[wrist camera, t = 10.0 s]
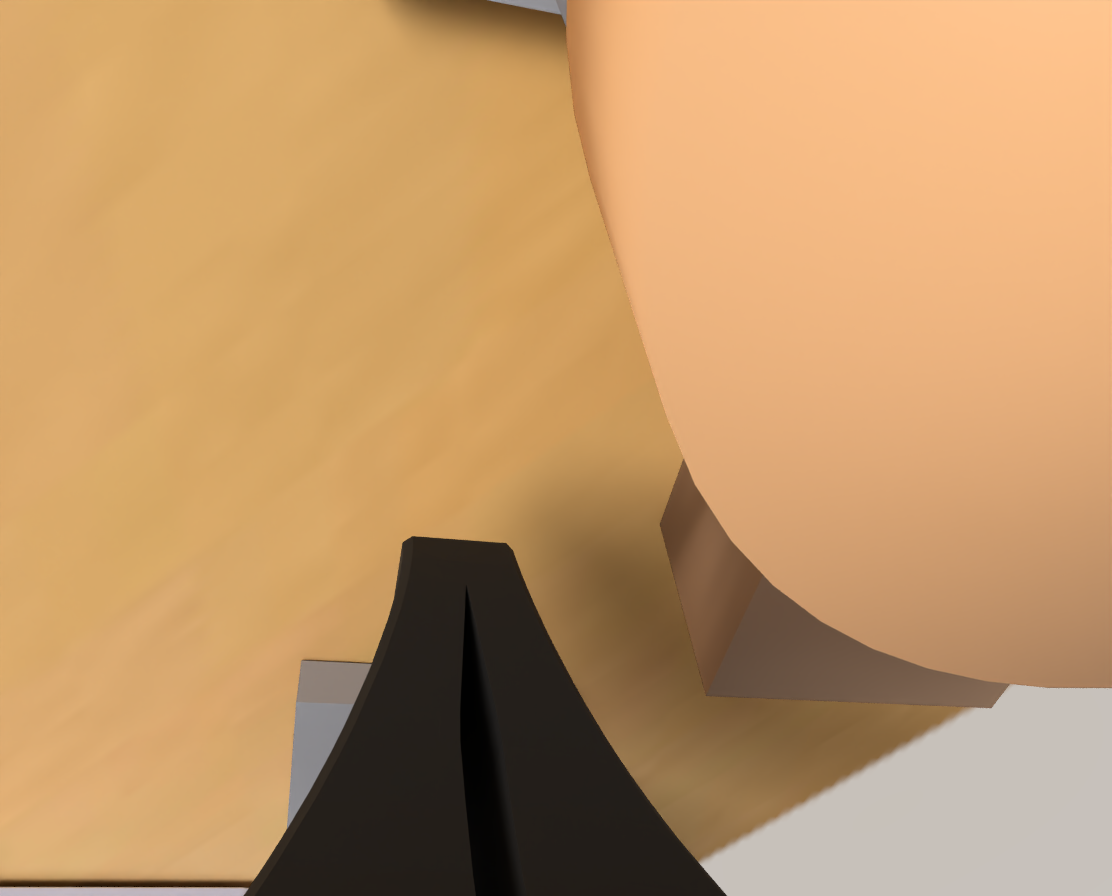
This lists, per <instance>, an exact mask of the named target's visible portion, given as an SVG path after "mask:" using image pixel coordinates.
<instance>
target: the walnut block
mask: <svg viewBox="0 0 1112 896" xmlns="http://www.w3.org/2000/svg"><path fill="white" fill-rule="evenodd" d="M660 527H661V530H662V534H663V538H664V542H665V545H666V549H667V553H668V557H669V560H670V564H671V568H672V571H673V575H674V579H675V583H676V586H677V590H678V594H679V597H680V601H681V605H682V609H683V612H684V616H685V620H686V623H687V627H688V631H689V635H690V638H691V642H692V646H693V650H694V653H695V657H696V661H697V664H698V668H699V672H700V676H701V679H702V683H703V687H704V690H705V694H706V696H720V697H744V698H767V699H791V700H814V701H838V702H861V703H885V704H908V705H932V706H955V707H978V708H992V707H993V705H994V704H995V703H996V701H997V700H998V699H999V697H1000V696H1001V695H1002V693H1003V692H1004V691H1005V690H1006V688H1007V687H1008V686H1009V684H1007V683H997V682H988V681H982V680H978V679H973V678H969V677H964V676H960V675H955V674H950V673H946V672H941V671H937V670H932V669H928V668H925V667H922V666H919V665H916V664H914V663H911V662H908V661H905V660H902V659H900V658H897V657H894V656H891V655H888V654H886V653H883V652H880V651H877V650H874V649H872V648H870V647H868V646H866V645H864V644H862V643H861V642H859V641H857V640H855V639H853V638H851V637H849V636H847V635H845V634H844V633H842V632H840V631H838V630H836V629H834V628H832V627H830V626H828V625H827V624H825V623H823V622H821V621H819V620H818V619H817V618H816V617H814V616H813V615H812V614H810V613H809V612H808V611H806V610H805V609H804V608H802V607H801V606H800V605H798V604H797V603H796V602H794V601H793V600H792V599H790V598H789V597H788V596H786V595H785V594H784V593H782V592H781V591H780V590H778V589H777V588H776V587H774V586H773V585H772V584H771V583H770V582H769V581H768V579H767V578H766V577H765V576H764V575H763V574H762V573H761V572H760V571H759V570H758V569H757V568H756V567H755V566H754V564H753V563H752V562H751V561H750V560H749V559H748V558H747V557H746V556H745V555H744V554H743V553H742V552H741V551H740V550H739V548H738V547H737V546H736V545H735V544H734V543H733V542H732V541H731V540H730V538H729V537H728V535H727V533H726V532H725V530H724V529H723V527H722V526H721V524H720V523H719V521H718V520H717V518H716V516H715V515H714V513H713V512H712V510H711V509H710V507H709V506H708V504H707V502H706V501H705V499H704V498H703V496H702V495H701V493H700V492H699V490H698V489H697V487H696V485H695V484H694V481H693V479H692V476H691V474H690V472H689V469H688V467H687V464H686V462H685V460H684V459H683V462H682V465H681V467H680V470H679V473H678V476H677V478H676V481H675V484H674V487H673V489H672V492H671V495H670V498H669V501H668V503H667V506H666V509H665V512H664V514H663V517H662V520H661V523H660Z"/></svg>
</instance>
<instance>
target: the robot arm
mask: <svg viewBox="0 0 1112 896" xmlns="http://www.w3.org/2000/svg"><path fill="white" fill-rule="evenodd" d="M0 896H727V895H726V894H725V893H724V892H723V891H722V890H721V888H720V887H719V886H718V885H717V884H716V883H715V881H714V880H713V879H712V878H711V877H710V876H709V875H708V873H707V872H706V871H705V870H704V868H703V867H702V866H701V865H700V864H699V863H698V861H697V860H696V859H695V858H694V857H693V856H692V854H691V853H690V852H689V851H688V850H687V849H686V847H685V846H684V845H683V844H682V843H681V842H680V840H679V839H678V838H677V837H676V835H675V834H674V833H673V832H672V830H671V829H670V828H669V826H668V825H667V824H666V822H665V821H664V820H663V819H662V817H661V816H660V815H659V813H658V812H657V811H656V809H655V808H654V807H653V805H652V804H651V803H650V801H649V800H648V799H647V797H646V796H645V795H644V793H643V792H642V790H641V789H640V787H639V786H638V785H637V783H636V782H635V780H634V779H633V778H632V776H631V775H630V773H629V772H628V771H627V769H626V768H625V766H624V765H623V763H622V762H621V760H620V759H619V757H618V756H617V754H616V753H615V751H614V750H613V748H612V746H611V745H610V743H609V742H608V740H607V739H606V737H605V735H604V734H603V732H602V731H601V729H600V727H599V726H598V724H597V722H596V721H595V719H594V717H593V716H592V714H591V712H590V711H589V709H588V707H587V706H586V704H585V702H584V700H583V699H582V697H581V695H580V693H579V692H578V690H577V688H576V686H575V685H574V683H573V681H572V679H571V677H570V675H569V673H568V671H567V670H566V668H565V666H564V664H563V662H562V660H561V658H560V656H559V654H558V652H557V651H556V649H555V647H554V645H553V643H552V641H551V639H550V637H549V635H548V633H547V631H546V629H545V626H544V624H543V622H542V620H541V618H540V616H539V613H538V611H537V609H536V607H535V605H534V603H533V600H532V598H531V596H530V593H529V591H528V589H527V586H526V584H525V581H524V579H523V576H522V574H521V571H520V569H519V566H518V563H517V561H516V558H515V555H514V552H513V550H512V549H511V548H510V547H509V546H508V545H507V543H495V542H482V541H469V540H455V539H442V538H429V537H415V536H412V537H411V538H409V539H407V540H406V541H404V542H403V544H402V550H401V557H400V563H399V570H398V576H397V583H396V589H395V596H394V601H393V604H392V608H391V611H390V615H389V618H388V621H387V624H386V626H385V629H384V632H383V635H382V637H381V640H380V643H379V646H378V648H377V651H376V654H375V657H374V659H373V662H372V664H371V667H370V669H369V672H368V674H367V676H366V679H365V681H364V683H363V685H362V688H361V690H360V692H359V694H358V696H357V699H356V701H355V703H354V705H353V707H352V710H351V712H350V714H349V716H348V719H347V721H346V723H345V725H344V727H343V729H342V731H341V733H340V735H339V737H338V739H337V741H336V743H335V745H334V747H333V749H332V751H331V753H330V755H329V756H328V758H327V760H326V762H325V764H324V766H323V768H322V769H321V771H320V773H319V775H318V777H317V779H316V780H315V782H314V784H313V786H312V788H311V789H310V791H309V793H308V795H307V796H306V798H305V800H304V801H303V803H302V805H301V806H300V808H299V810H298V812H297V813H296V815H295V817H294V818H293V820H292V822H291V823H290V825H289V827H288V828H287V830H286V832H285V833H284V835H283V837H282V838H281V840H280V841H279V843H278V845H277V846H276V848H275V849H274V851H273V853H272V854H271V856H270V857H269V859H268V860H267V862H266V863H265V865H264V867H263V868H262V870H261V871H260V872H259V874H258V875H257V877H256V878H255V880H254V881H253V883H252V884H251V886H250V887H249V888H245V887H0Z"/></svg>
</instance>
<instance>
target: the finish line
mask: <svg viewBox="0 0 1112 896" xmlns="http://www.w3.org/2000/svg"><path fill="white" fill-rule="evenodd" d="M489 1H494V2H499V3H504V4H510V5H515V6H520V7H525V8H530V9H535V10H540V11H545V12H550V13H556V14H561V15H562V18H563V20H564V23H565V26H566V42H567V52H568V61H569V70H570V79H571V89H572V98H573V107H574V115H575V119H576V123H577V127H578V131H579V135H580V139H581V143H582V147H583V151H584V156H585V160H586V164H587V168H588V172H589V176H590V180H591V183H592V186H593V189H594V192H595V195H596V199H597V202H598V205H599V208H600V211H601V214H602V217H603V220H604V223H605V227H606V230H607V233H608V236H609V239H610V242H611V245H612V248H613V251H614V255H615V258H616V261H617V264H618V267H619V270H620V273H621V276H622V279H623V283H624V286H625V289H626V292H627V295H628V298H629V301H630V304H631V308H632V311H633V314H634V317H635V320H636V323H637V326H638V329H639V332H640V336H641V339H642V342H643V345H644V348H645V351H646V354H647V357H648V360H649V364H650V367H651V370H652V373H653V376H654V379H655V382H656V385H657V389H658V392H659V395H660V398H661V401H662V404H663V407H664V410H665V413H666V417H667V419H668V421H669V424H670V426H671V429H672V431H673V433H674V436H675V438H676V440H677V443H678V445H679V448H680V450H681V452H682V455H683V457H684V460H685V462H686V464H687V467H688V469H689V472H690V474H691V476H692V479H693V481H694V484H695V485H696V487H697V489H698V490H699V492H700V493H701V495H702V496H703V498H704V499H705V501H706V502H707V504H708V506H709V507H710V509H711V510H712V512H713V513H714V515H715V516H716V518H717V520H718V521H719V523H720V524H721V526H722V527H723V529H724V530H725V532H726V533H727V535H728V537H729V538H730V540H731V541H732V542H733V543H734V544H735V545H736V546H737V547H738V548H739V550H740V551H741V552H742V553H743V554H744V555H745V556H746V557H747V558H748V559H749V560H750V561H751V562H752V563H753V564H754V566H755V567H756V568H757V569H758V570H759V571H760V572H761V573H762V574H763V575H764V576H765V577H766V578H767V579H768V581H769V582H770V583H771V584H772V585H773V586H774V587H776V588H777V589H778V590H780V591H781V592H782V593H784V594H785V595H786V596H788V597H789V598H790V599H792V600H793V601H794V602H796V603H797V604H798V605H800V606H801V607H802V608H804V609H805V610H806V611H808V612H809V613H810V614H812V615H813V616H814V617H816V618H817V619H818V620H819V621H821V622H823V623H825V624H827V625H828V626H830V627H832V628H834V629H836V630H838V631H840V632H842V633H844V634H845V635H847V636H849V637H851V638H853V639H855V640H857V641H859V642H861V643H862V644H864V645H866V646H868V647H870V648H872V649H874V650H877V651H880V652H883V653H886V654H888V655H891V656H894V657H897V658H900V659H902V660H905V661H908V662H911V663H914V664H916V665H919V666H922V667H925V668H928V669H932V670H937V671H941V672H946V673H950V674H955V675H960V676H964V677H969V678H973V679H978V680H982V681H988V682H997V683H1007V684H1017V685H1027V686H1036V687H1046V688H1112V0H489ZM370 667H371V664H364V663H344V662H324V661H304V660H302V661H301V669H300V677H299V685H298V693H297V701H296V714H295V728H294V741H293V755H292V768H291V782H290V795H289V809H288V823H287V828H288V827H289V825H290V823H291V822H292V820H293V818H294V817H295V815H296V813H297V812H298V810H299V808H300V806H301V805H302V803H303V801H304V800H305V798H306V796H307V795H308V793H309V791H310V789H311V788H312V786H313V784H314V782H315V780H316V779H317V777H318V775H319V773H320V771H321V769H322V768H323V766H324V764H325V762H326V760H327V758H328V756H329V755H330V753H331V751H332V749H333V747H334V745H335V743H336V741H337V739H338V737H339V735H340V733H341V731H342V729H343V727H344V725H345V723H346V721H347V719H348V716H349V714H350V712H351V710H352V707H353V705H354V703H355V701H356V699H357V696H358V694H359V692H360V690H361V688H362V685H363V683H364V681H365V679H366V676H367V674H368V672H369V669H370Z"/></svg>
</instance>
